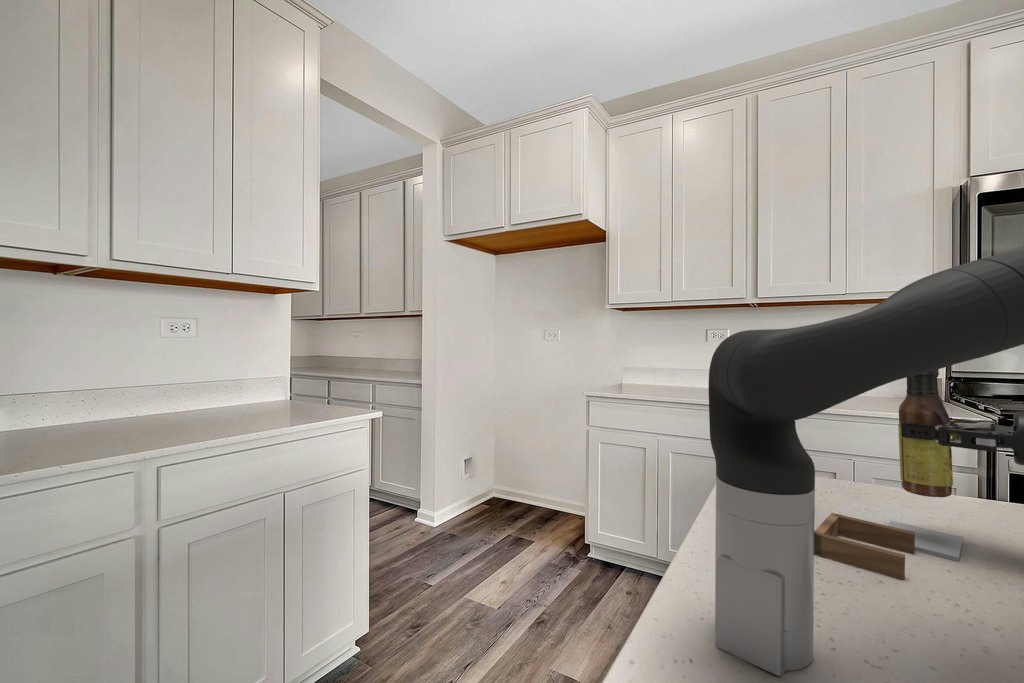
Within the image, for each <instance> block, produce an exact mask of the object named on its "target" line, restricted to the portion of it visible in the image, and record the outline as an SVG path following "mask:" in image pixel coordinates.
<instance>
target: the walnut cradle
mask: <svg viewBox="0 0 1024 683" xmlns="http://www.w3.org/2000/svg"><path fill="white" fill-rule="evenodd" d="M838 536H841V537H845V538H841V537H838ZM846 538H849V539H853V540H849V539H846ZM854 540H857V541H860V542H857V541H854ZM861 542H865V543H868V544H873V545H876V546H879V547H880V548H879V547H876V546H872V545H868V544H865V543H861ZM881 547H882V548H881ZM883 547H884V548H883ZM885 548H887V549H885ZM888 549H892V550H895V551H899V552H895V551H891V550H888ZM900 552H903V553H905V554H903V553H900ZM915 552H916V551H915V532H913V531H908V530H904V529H900V528H895V527H891V526H888V524H887V525H886V524H882V523H877V522H873V521H868V520H864V519H862V518H861V519H859V518H855V517H851V516H847V515H843V514H840V513H838V514H837V513H835V512H831V513H830V514H829V515H828V516H827V517H826V518H825V519H824V520H823V521H822V523H821V524H820V525H819V526H818V527H817V528H816V529H814V556H815V555H816V556H819V557H823V558H826V559H829V560H833V561H837V562H840V563H842V564H847V565H849V566H854V567H857V568H860V569H864V570H868V571H871V572H874V573H878V574H881V575H885V576H889V577H891V578H895V579H898V580H901V581H904V580H905V578H906V554H907V553H908V554H911V555H914V554H915Z"/></svg>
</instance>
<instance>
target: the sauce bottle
mask: <svg viewBox="0 0 1024 683" xmlns="http://www.w3.org/2000/svg"><path fill="white" fill-rule="evenodd" d="M939 375H940V371H939V369H938V370H934V371H931V372H927V373H923V374H919V375H915V376H910V377H906V396H905V398H904V399H903V401H902V402H901V403H900V405H899V406H898V425H897V426H898V427H897V428H898V447H899V448H898V450H899V452H898V454H899V473H900V474H899V476H900V480H901V484H900V485H901V488H902V489H903V490H904V491H906V492H908V493H910V494H913V495H918V496H922V497H928V498H947V497H949V496H951V495H952V492H953V485H954V478H953V476H954V474H953V457H952V456H953V453H952V451H953V450H952V447H951V446H942V445H939V444H938V443H937V442H934V439H933V441H932V440H923V439H914V438H905V437H903V436H902V435H901V425H902V424H903V423H914V424H924V425H933V428H934V425H942V426H950V418H951V417H950V416H949V413H948V412H947V409H946V407H945V405H944V403H943V401H942V399H941V397H940V394H939V392H940V391H939V387H938V386H939V385H938V377H939ZM949 417H950V418H949ZM951 438H952V436H951V433H950V439H951Z"/></svg>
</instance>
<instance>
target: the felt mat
mask: <svg viewBox="0 0 1024 683" xmlns="http://www.w3.org/2000/svg"><path fill="white" fill-rule="evenodd" d="M887 526H891V527H895V528H900V529H904V530H908V531H913V532H915V552H919V553H924V554H927V555H932V556H936V557H939V558H944V559H947V560H951V561H955V562H960V557H961V553H962V547H963V539H964V536H961V535H956V534H952V533H948V532H945V531H944V532H943V531H940V530H939V531H938V530H935V529H930V528H926V527H921V526H917V525H912V524H907V523H905V522H904V523H903V522H900V521H899V522H897V521H894V520H890V521H889V522H888V524H887Z"/></svg>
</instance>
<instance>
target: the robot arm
mask: <svg viewBox="0 0 1024 683" xmlns="http://www.w3.org/2000/svg"><path fill="white" fill-rule="evenodd" d="M1023 345H1024V249H1022V250H1015V251H1010V252H1004V253H998V254H996V255H991V256H986V257H982V258H978V259H975V260H972V261H969V262H966V263H963V264H960V265H957V266H953V267H950V268H947V269H944V270H941V271H938V272H936V273H935V272H934V273H933V274H930V275H927V276H924V277H922V278H920V279H917V280H916V281H914V282H911V283H909V284H907V285H905V286H904V287H902V288H900V289H899V290H897V291H896V292H894V293H892V294H891V295H890V296H888V297H887V298H885V299H883V300H882V301H880V302H879V303H878V304H876V305H874V306H871V307H870V308H867V309H865V310H862V311H859V312H857V313H853V314H849V315H845V316H842V317H839V318H833V319H830V320H826V321H822V322H816V323H813V324H807V325H802V326H798V327H787V328H777V329H776V328H774V329H748V330H742V331H738V332H735V333H733V334H731V335H729V336H727V337H726V338H725V339H723V340H722V342H720V343H719V344H718V346H717V347H716V349H715V350H714V351H713V354H712V356H711V360H710V364H709V372H708V415H709V416H708V418H709V439H710V446H711V448H712V451H713V455H714V456H713V457H714V459H715V542H714V543H715V547H714V548H715V550H714V551H715V554H714V555H715V556H714V557H715V563H714V564H715V568H714V570H715V571H714V572H715V574H714V585H715V586H714V590H715V591H714V592H715V593H714V602H715V603H714V604H715V606H714V607H715V608H714V614H715V615H714V628H715V629H714V631H715V647H717V648H718V649H721V650H723V651H725V652H727V653H728V654H731V655H733V656H736V657H737V658H739V659H742V660H744V661H746V662H747V663H750V664H752V665H755V666H756V667H758V668H761V669H762V670H765V671H767V672H769V673H771V674H773V675H775V676H778V677H781V676H782V674H784V672H788V671H798V670H802V669H804V668H806V667H807V666H809V665H810V664H811V662H812V661H813V660H814V623H815V622H814V619H815V618H814V610H815V609H814V604H815V603H814V600H815V599H814V596H815V595H814V594H815V593H814V592H815V591H814V590H815V589H814V588H815V585H814V584H815V569H814V568H815V554H814V531H815V516H816V515H815V514H816V513H815V512H816V508H815V504H816V503H815V502H816V489H815V488H816V486H815V485H816V468H815V463H814V461H813V458H812V457H811V456H810V454H809V453H808V452H807V451H806V449H805V448H804V446H803V443H802V442H801V441H800V437H799V436H798V433H797V428H796V421H798V420H802V419H805V418H808V417H811V416H813V415H815V414H818V413H820V412H823V411H826V410H828V409H830V408H832V407H835V406H837V405H840V404H842V403H844V402H846V401H848V400H850V399H852V398H855V397H857V396H860V395H862V394H865V393H867V392H869V391H872V390H874V389H876V388H879V387H882V386H885V385H887V384H890V383H892V382H896V381H898V380H902V379H907V377H910V376H915V375H919V374H923V373H927V372H931V371H934V370H938V371H939V370H940V369H944V368H947V367H951V366H955V365H957V364H961V363H965V362H969V361H973V360H976V359H980V358H983V357H988V356H990V355H994V354H997V353H1000V352H1004V351H1007V350H1010V349H1013V348H1016V347H1021V346H1023ZM949 418H950V426H942V425H934V428H933V425H924V424H914V423H903V424H902V425H901V435H902V436H903V437H905V438H914V439H923V440H932V441H933V439H934V442H937V443H938V444H939V445H942V446H951V448H953V447H954V448H961V449H969V450H975V451H983V452H987V453H996V452H997V449H1011V450H1012V451H1013V462H1014V463H1015V464H1017V465H1018V466H1024V411H1017V412H1014V413H1013V425H1011V426H1007V425H1006V426H1005V425H1000V424H998V423H999V422H998V421H995V420H990V419H970V418H964V417H963V418H955V417H954V418H953V417H950V416H949ZM950 433H951V439H950Z"/></svg>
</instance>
